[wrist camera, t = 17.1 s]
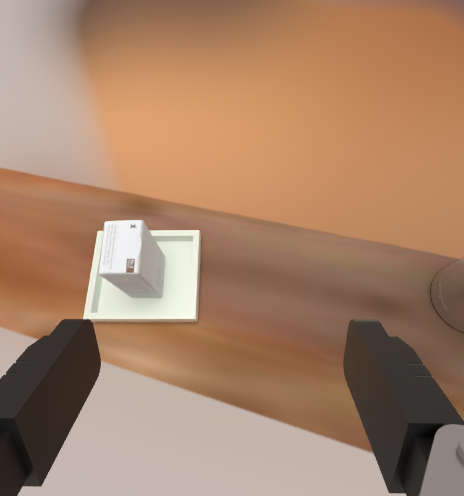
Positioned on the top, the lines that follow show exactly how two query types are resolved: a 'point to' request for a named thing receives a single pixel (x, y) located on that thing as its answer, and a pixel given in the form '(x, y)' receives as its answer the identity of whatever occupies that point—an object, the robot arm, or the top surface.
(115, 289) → the tray
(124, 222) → the skincare box
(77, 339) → the robot arm
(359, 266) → the top surface
